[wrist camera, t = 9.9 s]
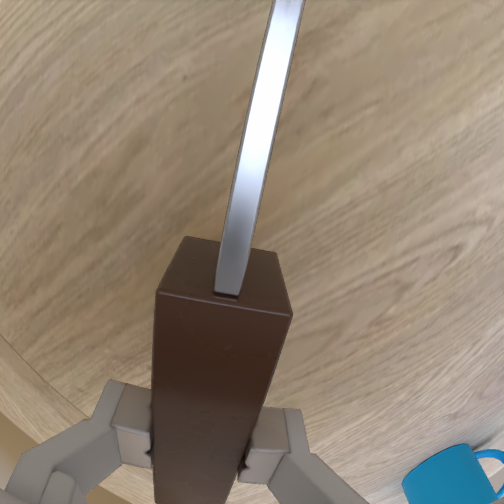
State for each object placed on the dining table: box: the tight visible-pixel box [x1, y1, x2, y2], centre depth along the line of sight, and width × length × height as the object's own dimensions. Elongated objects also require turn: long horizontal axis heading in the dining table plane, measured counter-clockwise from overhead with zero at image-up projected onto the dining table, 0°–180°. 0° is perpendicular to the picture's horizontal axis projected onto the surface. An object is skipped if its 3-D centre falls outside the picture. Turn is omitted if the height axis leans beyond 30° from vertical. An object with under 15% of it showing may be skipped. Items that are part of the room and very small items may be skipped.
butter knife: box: [151, 0, 306, 504], centre depth 6 cm, size 2×20×3 cm, turn 168°
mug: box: [402, 444, 504, 504], centre depth 19 cm, size 12×8×8 cm
